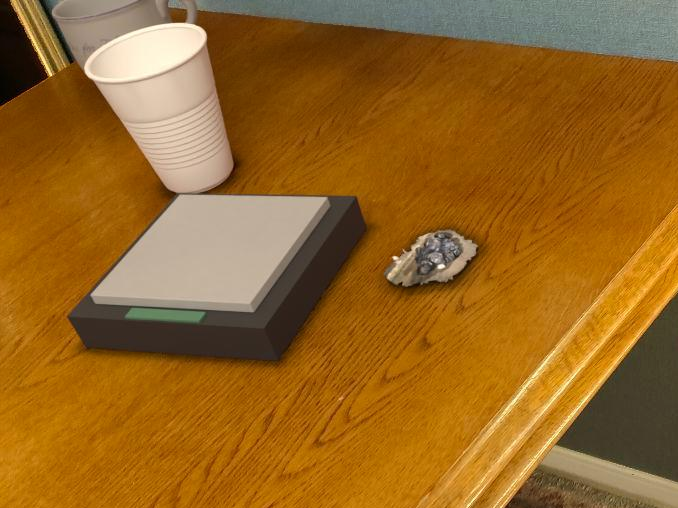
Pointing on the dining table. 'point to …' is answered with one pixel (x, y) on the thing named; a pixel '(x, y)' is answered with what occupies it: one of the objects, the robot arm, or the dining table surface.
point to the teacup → (110, 21)
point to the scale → (221, 275)
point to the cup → (167, 102)
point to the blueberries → (432, 259)
